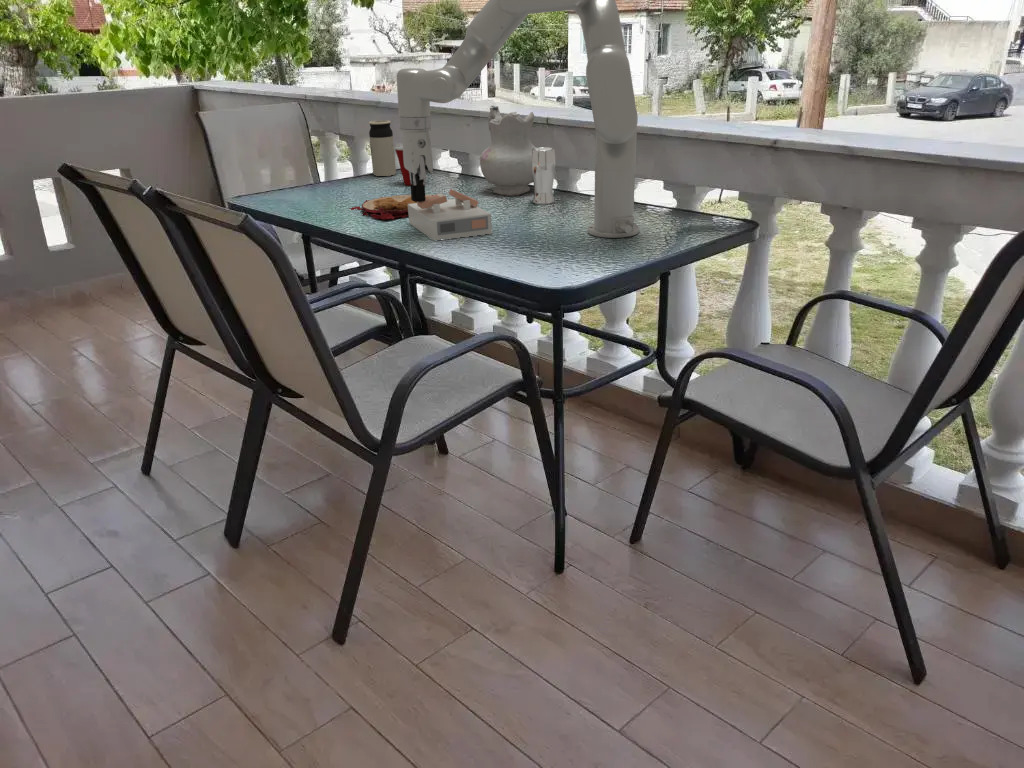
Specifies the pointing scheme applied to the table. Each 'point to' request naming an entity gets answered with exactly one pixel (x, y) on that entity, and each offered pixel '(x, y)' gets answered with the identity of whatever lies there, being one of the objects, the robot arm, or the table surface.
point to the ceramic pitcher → (508, 153)
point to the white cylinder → (543, 174)
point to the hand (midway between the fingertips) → (418, 200)
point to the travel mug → (382, 148)
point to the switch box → (450, 220)
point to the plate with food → (387, 207)
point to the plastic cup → (403, 170)
